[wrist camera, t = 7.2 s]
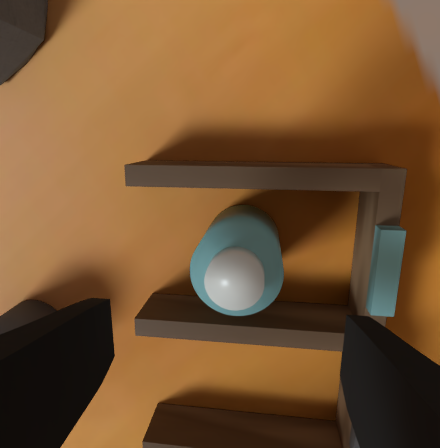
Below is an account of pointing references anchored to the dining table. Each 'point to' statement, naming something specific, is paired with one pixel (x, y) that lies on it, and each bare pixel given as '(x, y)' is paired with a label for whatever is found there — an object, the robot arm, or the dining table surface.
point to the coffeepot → (20, 33)
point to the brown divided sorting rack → (278, 310)
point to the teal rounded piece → (238, 262)
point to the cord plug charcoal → (24, 314)
